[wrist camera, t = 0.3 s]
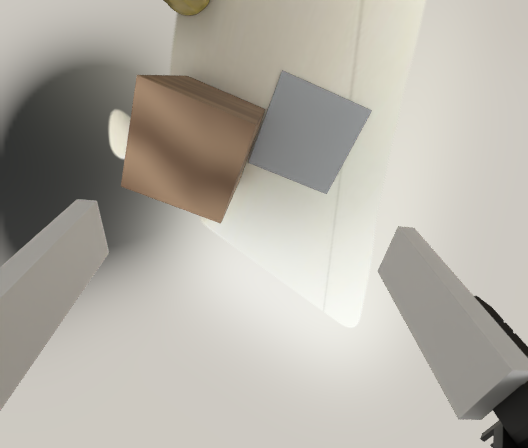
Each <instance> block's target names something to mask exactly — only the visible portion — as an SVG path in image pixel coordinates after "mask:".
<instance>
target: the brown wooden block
mask: <svg viewBox="0 0 528 448" xmlns="http://www.w3.org/2000/svg"><path fill="white" fill-rule="evenodd" d="M264 112H265V109H263V108H261V107H259V106H256V105H254V104H252V103H249V102H247V101H245V100H242V99H240V98H238V97H235V96H233V95H231V94H228V93H226V92H224V91H221V90H219V89H217V88H214V87H212V86H210V85H207V84H205V83H203V82H200V81H198V80H196V79H193V78H191V77H189V76H168V75H165V76H164V75H163V76H162V75H137V78H136V86H135V92H134V100H133V106H132V113H131V120H130V127H129V134H128V141H127V148H126V155H125V161H124V169H123V176H122V182H121V187H124V188H126V189H129V190H132V191H135V192H138V193H140V194H143V195H146V196H148V197H151V198H154V199H156V200H159V201H162V202H165V203H167V204H170V205H172V206H175V207H178V208H181V209H183V210H186V211H189V212H191V213H194V214H197V215H199V216H202V217H205V218H208V219H210V220H213V221H216V222H218V223H221V222H222V219H223V217H224V215H225V212H226V210H227V208H228V206H229V203H230V201H231V199H232V197H233V194H234V192H235V190H236V188H237V185H238V183H239V181H240V178H241V175H242V172H243V170H244V167H245V164H246V161H247V159H248V156H249V153H250V150H251V148H252V145H253V142H254V140H255V137H256V134H257V131H258V129H259V126H260V123H261V120H262V118H263V115H264Z"/></svg>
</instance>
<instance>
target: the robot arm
mask: <svg viewBox="0 0 528 448" xmlns="http://www.w3.org/2000/svg"><path fill="white" fill-rule="evenodd" d="M108 254H109V250H108V246H107V242H106V238H105V233H104V230H103V225H102V221H101V217H100V212H99V208H98V204H97V201H92V200H80V199H77V200H76V201H75V202H74V203H72V204H71V205H70V206H69V207H68V208H67V209H66V210H65V211H63V212H62V213H61V214H60V215H59V216H58V217H57V218H55V219H54V221H52V222H51V223H50V224H49V225H48V226H46V227H45V228H44V229H43V230H42V231H41V232H40V233H39V234H37V235H36V236H35V237H34V238H33V239H32V240H31V241H30V242H28V243H27V244H26V245H25V246H24V247H23V248H22V249H20V250H19V251H18V252H17V253H16V254H15V255H14V256H13V257H12V258H10V259H9V260H8V261H7V262H6V263H5V264H3V266H1V267H0V411H1V409H2V408H3V406H4V404H5V403H6V402H7V400H8V399H9V397H10V396H11V395H12V393H13V392H14V390H15V389H16V387H17V386H18V384H19V383H20V381H21V380H22V379H23V377H24V376H25V374H26V373H27V371H28V370H29V368H30V367H31V365H32V364H33V363H34V361H35V360H36V358H37V357H38V355H39V354H40V352H41V351H42V350H43V348H44V347H45V345H46V344H47V342H48V341H49V339H50V338H51V336H52V335H53V334H54V332H55V330H56V329H57V328H58V326H59V325H60V323H61V322H62V320H63V319H64V317H65V316H66V315H67V313H68V312H69V310H70V309H71V307H72V306H73V305H74V303H75V301H76V300H77V299H78V297H79V295H80V294H81V293H82V291H83V290H84V289H85V287H86V285H87V284H88V283H89V281H90V280H91V278H92V277H93V275H94V274H95V273H96V271H97V270H98V268H99V267H100V265H101V264H102V262H103V261H104V259H105V258H106V257H107V255H108ZM378 273H379V275H380V276H381V278H382V280H383V282H384V284H385V286H386V287H387V289H388V291H389V293H390V294H391V297H392V298H393V300H394V302H395V304H396V306H397V307H398V309H399V311H400V313H401V315H402V316H403V319H404V320H405V322H406V324H407V326H408V328H409V329H410V331H411V333H412V335H413V337H414V338H415V340H416V342H417V344H418V346H419V348H420V349H421V351H422V353H423V355H424V357H425V359H426V361H427V362H428V364H429V366H430V368H431V370H432V371H433V373H434V375H435V377H436V379H437V381H438V383H439V384H440V386H441V388H442V390H443V392H444V394H445V395H446V397H447V399H448V401H449V403H450V404H451V406H452V408H453V410H454V412H455V414H456V415H457V417H458V419H475V420H481V419H483V418H484V417H485V416H486V415H487V414H489V413H490V412H491V411H492V410H493V411H494V412H495V414H496V415H497V417H498V418H499V421H498V422H496V423H495V424H494V425H493V426H491V427H490V428H489V429H487V430H486V431H485V432H484V433H482V436H481V438H480V439H481V440H483V441H486V440H487V439H489V438H490V437H491V436H494V442H493V443H492V444H491V447H493V448H528V347H527V346H526V344H525V343H523V341H522V340H521V339H520V338H519V337H518V336H517V335H516V334H514V333H513V330H512V329H511V328H510V327H509V326H508V325H507V323H504V322H503V319H502V318H501V317H500V316H499V315H498V313H497V312H496V311H495V310H494V309H493V308H492V307H491V306H489V305H488V304H487V303H485V302H484V301H483V300H481V299H480V298H479V297H477V296H473V295H472V294H471V293H470V292H469V290H468V289H467V288H466V287H465V286H464V285H463V283H462V282H461V281H460V280H459V279H458V278H457V276H456V275H455V274H454V273H453V272H452V271H451V270H450V268H449V267H448V266H447V265H446V264H445V263H444V262H443V260H442V259H441V258H440V257H439V256H438V255H437V254H436V253H435V251H434V250H433V249H432V248H431V247H430V246H429V244H428V243H427V242H426V241H425V240H424V239H423V238H422V236H421V235H420V234H419V233H418V232H417V231H416V230H415V228H409V227H399V226H398V228H397V230H396V232H395V235H394V237H393V239H392V241H391V243H390V246H389V248H388V250H387V252H386V254H385V257H384V259H383V261H382V263H381V265H380V267H379V269H378Z"/></svg>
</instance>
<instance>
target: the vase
mask: <svg viewBox="0 0 528 448" xmlns="http://www.w3.org/2000/svg"><path fill="white" fill-rule="evenodd" d="M164 1H165V2H166V3H167V4H168V5H169V6H170V7H171V8H172V9H173V10H174V11H176V12H178V13H180V14H182V15H194V14H197V13H199V12H200V11H202V10H203V9H204V8H205V7H206V6H207V5H208V3H209V1H210V0H164Z"/></svg>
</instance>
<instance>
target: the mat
mask: <svg viewBox="0 0 528 448" xmlns="http://www.w3.org/2000/svg"><path fill="white" fill-rule="evenodd" d="M371 111H372V110H370V109H368V108H365V107H363V106H361V105H359V104H356V103H354V102H352V101H350V100H348V99H345V98H343V97H341V96H339V95H336V94H334V93H332V92H330V91H328V90H325V89H323V88H321V87H319V86H316V85H314V84H312V83H310V82H308V81H305V80H303V79H301V78H299V77H296V76H294V75H292V74H290V73H287V72H285V71H283V70H282V73H281V75H280V78H279V81H278V84H277V86H276V89H275V92H274V94H273V97H272V100H271V102H270V105H269V108H268V111H267V113H266V116H265V119H264V121H263V124H262V127H261V130H260V132H259V135H258V138H257V140H256V143H255V146H254V149H253V151H252V154H251V157H250V159H249V162H248V163H250V164H253V165H255V166H258V167H260V168H263V169H265V170H268V171H270V172H273V173H275V174H278V175H280V176H283V177H285V178H288V179H290V180H293V181H295V182H298V183H300V184H303V185H305V186H308V187H310V188H313V189H315V190H318V191H320V192H323V193H325V194H327V193H328V191H329V189H330V187H331V185H332V183H333V182H334V180H335V178H336V176H337V174H338V172H339V170H340V169H341V167H342V165H343V163H344V161H345V159H346V158H347V156H348V154H349V152H350V150H351V148H352V146H353V145H354V143H355V141H356V139H357V137H358V135H359V133H360V132H361V130H362V128H363V126H364V124H365V122H366V121H367V119H368V117H369V115H370V113H371Z"/></svg>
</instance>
